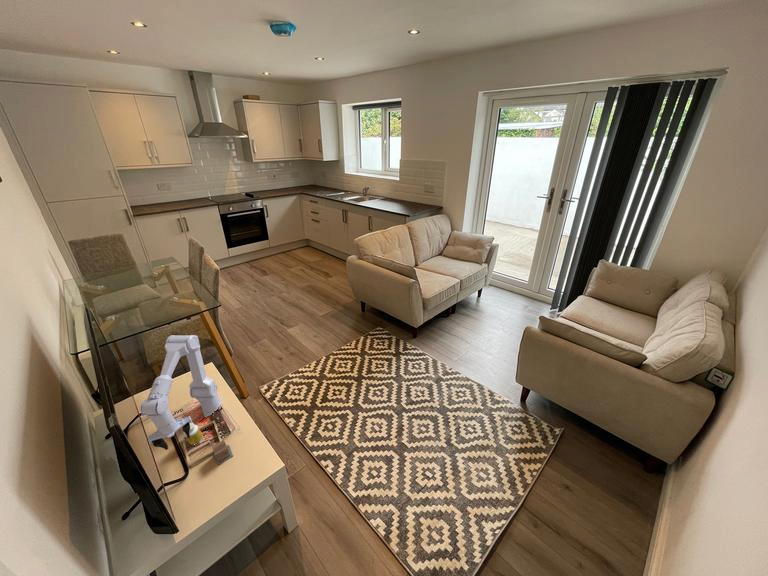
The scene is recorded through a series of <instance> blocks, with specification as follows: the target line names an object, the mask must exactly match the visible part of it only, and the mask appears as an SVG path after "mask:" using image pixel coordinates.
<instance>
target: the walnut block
mask: <svg viewBox="0 0 768 576" xmlns="http://www.w3.org/2000/svg"><path fill="white" fill-rule="evenodd" d="M221 440H222V439H221ZM227 445H228V444H227V443H226V442H225V440H224V439H223V440H222V441H221V442H220V441H219V442H217V443H216V444H214V445H212V451H214V454H215V456H216V458H217V460H218V461H219V462H221V461H222V460H224V459H226V458H227V457H229V456H231V455H230V452H229V450H228V447H227ZM214 454H213V455H214ZM215 456H214V457H215Z"/></svg>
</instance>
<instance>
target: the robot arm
mask: <svg viewBox="0 0 768 576" xmlns="http://www.w3.org/2000/svg"><path fill="white" fill-rule="evenodd" d="M164 350H165V352H166V354H165V358H164V361H163V364H162V367H161V371H160V375H159V376H157V377H156V378H155V379H154V380H153V383H152V386H151V388H150V392H149V393H148V396H147V398H146V399H145V400H143V401H142V403H141V404H140V415H141V416H147V418H149V419H150V420H151V422H152V423H153V425H154V426H155V427H156V429H157V430H156V431H154V432H153V433H151V435H148V436H146V438H148V441H149V444H148V445H151V444H152V445H153V446H154V447H155V448H162V449H163V450H166V451H167V450H169V446H168V444H167V442H166V441H165V439H164V438H168V439H170V438H172V437H174V436H175V433H176V432H178V431H179V430H180V429H181V428H182V432H183V433H184V432H185V434H186V435H187V437H188V438H190V434H189V431H190V424H189V423H193V419H192V417H191V416H190V415H188V416H186V417H182V418H179V419H175V418H174V416H173V415H172V413H171V411H170V409H169V397H170V396H168V395H169V394H170V390H171V388H172V385H173V382H174V379H173V378H172V376H173V373H174V371H175V369H176V367H177V365H178V362H179V360H180V358H183V357H184V356H185V357H186V359H187V362H188V363H187V364H188V366H189V369H190V370H189V371H190V374H191V377H192V381H191V383H189V396H190V397H191V398H192V399H195V400H196V401H198V403H199V404H200V407H201V410H202V414H203V416H204V418H207V417H209V416H211V415H213V414H215V413H214V411H216V410H217V409H218V407H219V406H220V405H221V406H222V408H223V409H224V406H223V404H222V401H221V399H220V397H219V395H218V394H217V393H218V385H217V384H216V382H215V379H213V378H211V377H209V376H208V375H207V373H206V368H205V364H204V360H203V356H202V352H201V345H200V340H199V337H198V335H195V334H190V335H189V334H186V335H183V334H182V335H181V334H180V335H179V334H178V335H174V334H173V335H172V334H171V335H169V336H168V337H167V339H166V340H165V345H164ZM212 413H213V414H212Z"/></svg>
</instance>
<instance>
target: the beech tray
mask: <svg viewBox="0 0 768 576" xmlns="http://www.w3.org/2000/svg"><path fill="white" fill-rule="evenodd" d="M213 424H214V425H213ZM211 425H212V426H214V429H215V432H216V433H217V437H218V440H219V442H221V441H222V438H221V435H220V432H218V431H219V429H218V426H217V423H216V421H215V420H212V421H211V422H209V423H206V424H205V425H203V426H201V427H198V428H199V430H200V431H201V432H203V431H204V430H206V429H208V428H209V426H210V427H212V426H211ZM207 427H208V428H207ZM205 428H206V429H205ZM203 429H204V430H203ZM184 439H186V437H185V436H184V435H183V436H182V437H181V441H182V446H183V449H184V454H185V458H186V462H187V466H188V468H189V469H191V468H192V466H193V467H194V466H197V465H198V464H199V463H201V462H202V461H205V460H206V459H208V458H210V457H212V456H214V451H213V450H211V451H210V452H208V453H207V454H205V455H203V456H201V457H200V458H197V459H196V460H194V461H192V462H191V460H189V459H190V457H189V456H188V455H189V453H188V454H187V451H188V448H187V449H186V447H187V444H186V445H185V443H186V441H185V440H184ZM186 440H187V439H186Z"/></svg>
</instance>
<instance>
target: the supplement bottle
mask: <svg viewBox="0 0 768 576" xmlns="http://www.w3.org/2000/svg"><path fill="white" fill-rule="evenodd" d="M189 424H190V431H189V434H190V438H188V437H187V435H186V434H185V432H184V431H183V437H184V436H185V437H186V441H187V443H188V444H189V445H190V444H191V446H195V445H194V444H196V443H198V442H199V441H201V439H202V438H204V435H203V433H202V431H200V430H199V428H200V427H199V426H198V425H197V424H194V422H192V423H189ZM202 440H203V439H202ZM201 442H202V441H201ZM198 444H199V443H198Z"/></svg>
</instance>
